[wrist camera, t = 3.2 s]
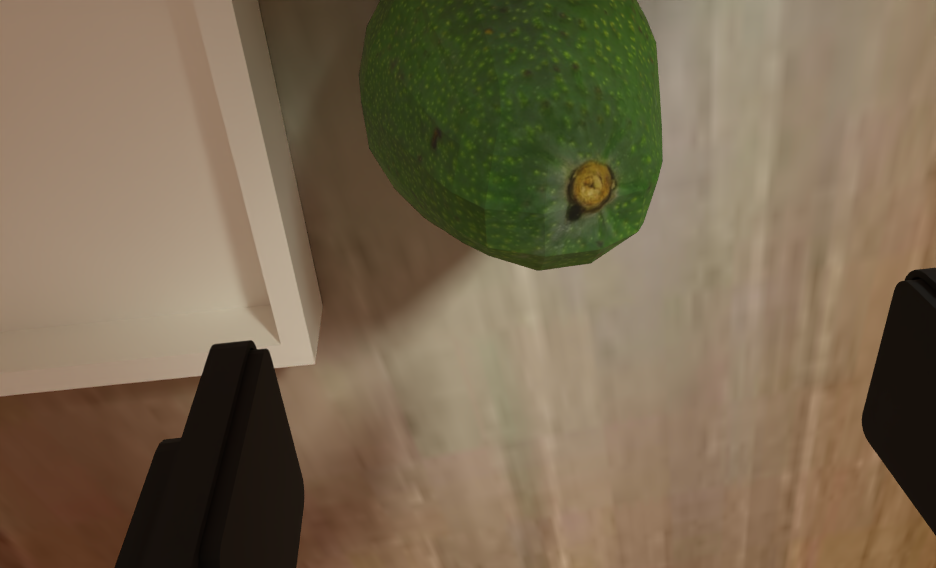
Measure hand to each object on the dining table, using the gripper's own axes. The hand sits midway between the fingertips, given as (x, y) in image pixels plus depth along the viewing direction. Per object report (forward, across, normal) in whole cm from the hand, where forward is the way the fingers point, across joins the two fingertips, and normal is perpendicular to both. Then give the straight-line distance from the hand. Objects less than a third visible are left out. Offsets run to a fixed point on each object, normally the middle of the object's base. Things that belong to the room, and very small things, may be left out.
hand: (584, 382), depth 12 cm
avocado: (+17, 0, -1) cm, 17 cm away
